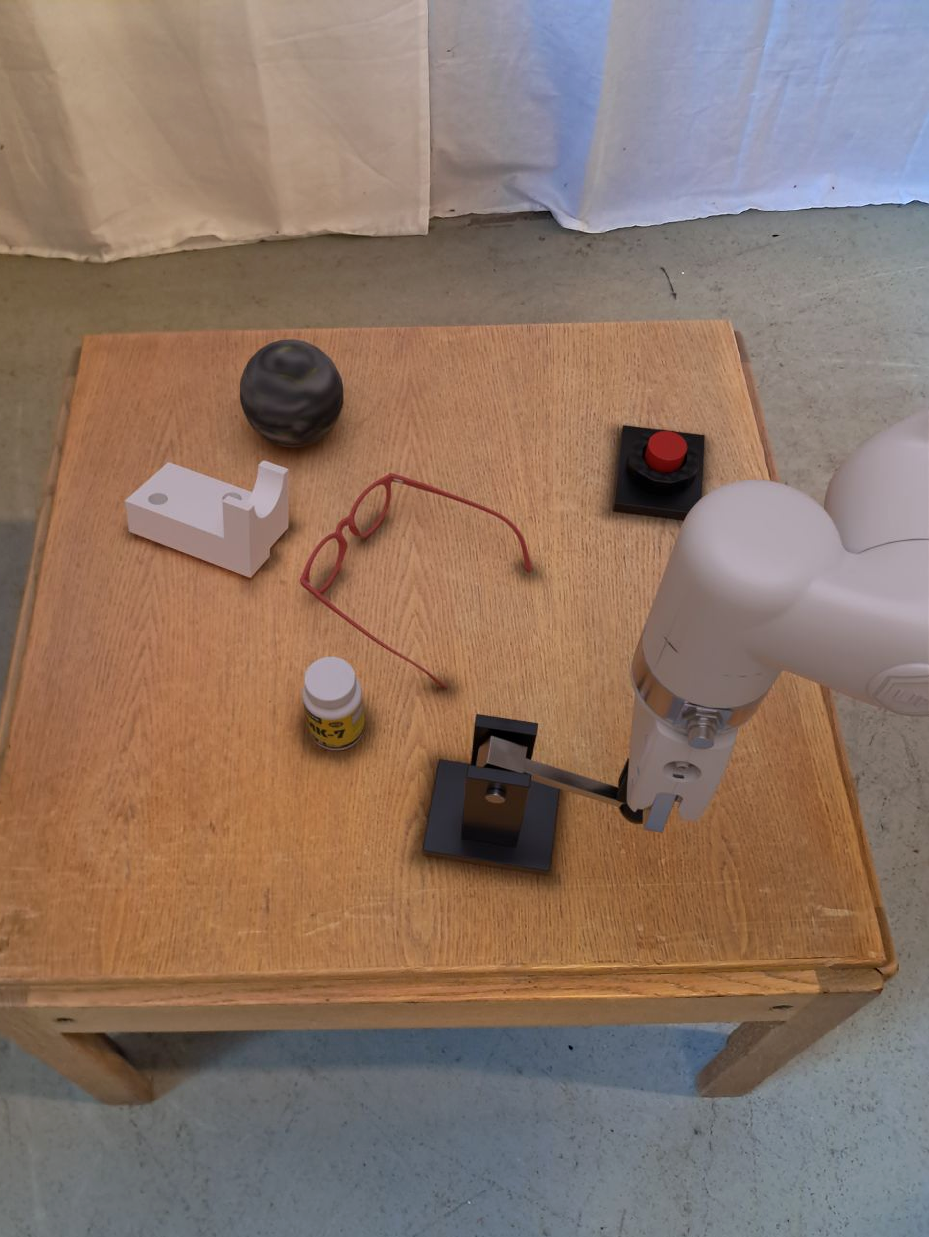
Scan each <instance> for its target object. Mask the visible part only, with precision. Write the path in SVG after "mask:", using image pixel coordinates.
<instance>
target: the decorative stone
mask: <svg viewBox="0 0 929 1237" xmlns="http://www.w3.org/2000/svg"><path fill="white" fill-rule="evenodd" d="M340 374H341V373H340V372H339V370H338V369H337V366H336V364H335V363H334V361H333V360H332V358H331V357H329V355H328V354H326V353H325V351H323V350H322V349H321V348H319V347H318V346H316V345H314V344H312V343H309V342H307V341H305V340H299V339H295V338H292V339H280V340H275V341H273V342H270V343H268V344H266V345H264V346H262V347H260V349H258V350H257V351H256V352H255V353H254V355H252V356H251V357H250V358H249V360H248V361H247V363H246V365H245V367H244V369H243V372H242V374H241V377H240V382H239V402H240V406H241V409H242V411H243V414H244V416H245V418H246V420H247V422H248V424H249V425H250V427H251V428H253V430H254V431H255V432H256V433H257V434H258V435H259V436H261V438H263V439H264V440H266V441H268V442H270V443H272V444H274V445H276V446H281V447H287V448H301V447H306V446H309V445H313V444H314V443H316V442H318V441H320V440H321V439H323V438H325V437H326V436H327V435H328V433H329V432H330V431H331V430H332V429H333V428H334V427H335V426H336V425H337V422H338V420H339V418H340V415H341V413H342V410H343V406H344V382H343V379H342V376H341V375H340Z"/></svg>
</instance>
